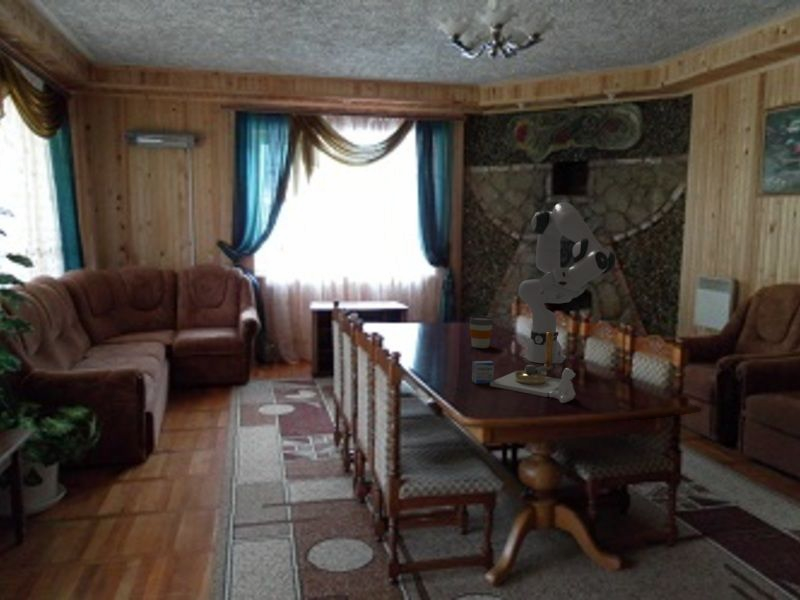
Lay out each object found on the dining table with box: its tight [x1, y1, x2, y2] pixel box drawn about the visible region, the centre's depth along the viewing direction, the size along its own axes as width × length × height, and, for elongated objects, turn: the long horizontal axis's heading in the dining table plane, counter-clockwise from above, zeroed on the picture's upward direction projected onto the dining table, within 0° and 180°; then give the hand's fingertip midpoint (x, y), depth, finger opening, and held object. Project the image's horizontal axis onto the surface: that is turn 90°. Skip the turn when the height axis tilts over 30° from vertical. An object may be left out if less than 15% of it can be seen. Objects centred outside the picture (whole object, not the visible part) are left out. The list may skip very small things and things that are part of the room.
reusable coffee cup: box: [469, 316, 494, 349], centre depth 323 cm, size 13×13×15 cm
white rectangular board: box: [489, 364, 562, 398], centre depth 248 cm, size 24×24×8 cm
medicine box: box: [471, 360, 495, 385], centre depth 250 cm, size 8×4×9 cm, turn 105°
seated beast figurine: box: [548, 367, 577, 404], centre depth 229 cm, size 10×9×12 cm
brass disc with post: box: [514, 332, 554, 385], centre depth 250 cm, size 22×12×18 cm, turn 137°
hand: (548, 294), depth 254 cm, fingers open, 8 cm apart
